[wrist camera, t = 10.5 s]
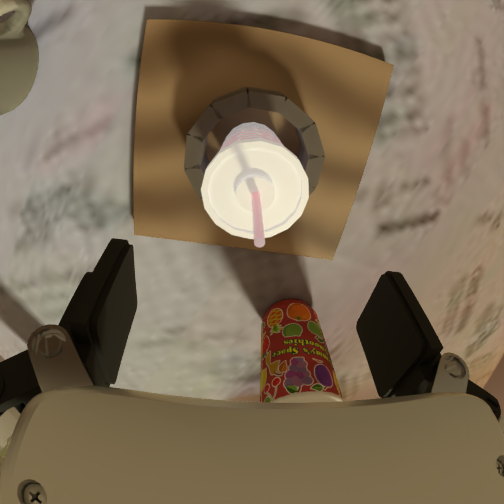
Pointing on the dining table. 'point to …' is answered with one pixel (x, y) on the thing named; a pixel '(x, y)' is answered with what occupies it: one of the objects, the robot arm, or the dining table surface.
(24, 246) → the dining table surface
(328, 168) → the socket board
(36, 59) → the coffee mug
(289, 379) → the smoothie
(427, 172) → the dining table surface
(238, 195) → the beverage cup
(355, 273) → the dining table surface
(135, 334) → the dining table surface
